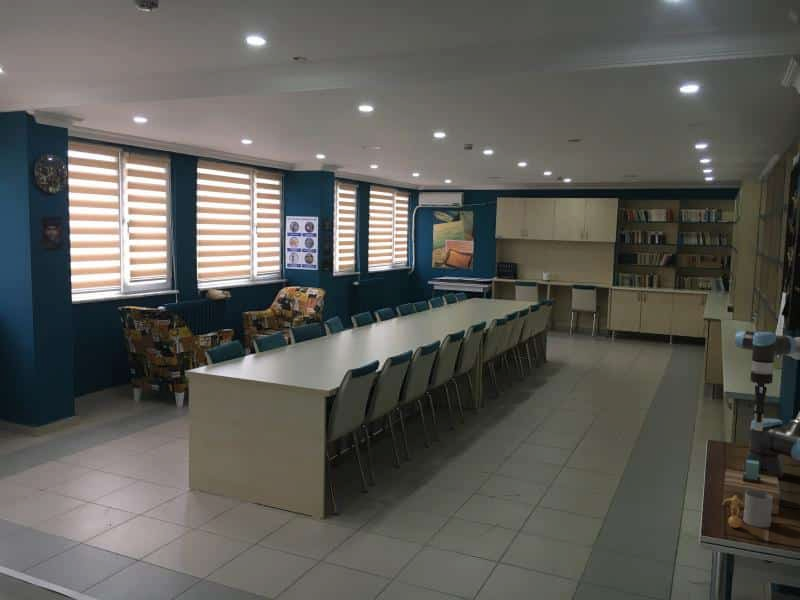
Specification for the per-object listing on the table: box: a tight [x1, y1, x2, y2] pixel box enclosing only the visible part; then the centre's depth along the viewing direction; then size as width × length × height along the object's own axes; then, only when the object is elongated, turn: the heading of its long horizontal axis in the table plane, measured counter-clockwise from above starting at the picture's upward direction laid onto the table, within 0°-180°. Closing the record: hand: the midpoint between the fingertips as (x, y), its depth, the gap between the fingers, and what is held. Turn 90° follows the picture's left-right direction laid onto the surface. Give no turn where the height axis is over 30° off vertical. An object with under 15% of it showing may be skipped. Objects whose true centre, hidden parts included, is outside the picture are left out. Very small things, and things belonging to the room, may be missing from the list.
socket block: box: [722, 468, 781, 515], centre depth 253 cm, size 18×18×9 cm
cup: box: [742, 490, 773, 528], centre depth 234 cm, size 8×8×10 cm
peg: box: [746, 460, 759, 480], centre depth 253 cm, size 4×4×8 cm
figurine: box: [721, 495, 749, 529], centre depth 229 cm, size 8×6×12 cm
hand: (758, 426), depth 261 cm, fingers open, 13 cm apart
